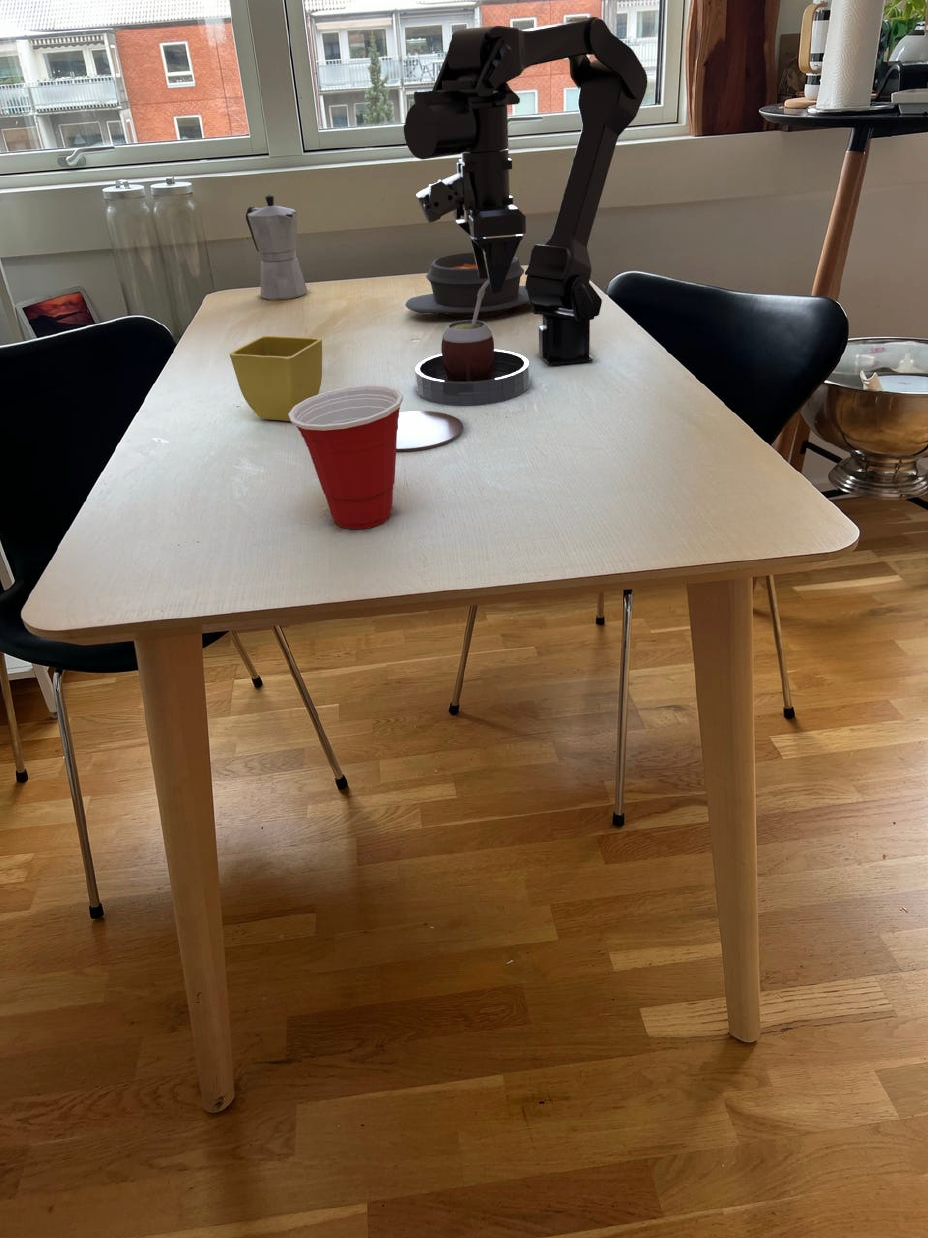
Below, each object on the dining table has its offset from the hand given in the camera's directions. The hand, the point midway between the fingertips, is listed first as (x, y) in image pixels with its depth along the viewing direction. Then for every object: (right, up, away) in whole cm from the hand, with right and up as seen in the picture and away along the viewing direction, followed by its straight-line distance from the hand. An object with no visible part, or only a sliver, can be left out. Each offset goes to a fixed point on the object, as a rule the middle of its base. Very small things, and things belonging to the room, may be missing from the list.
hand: (489, 285), depth 120 cm
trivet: (-10, -20, -7) cm, 24 cm away
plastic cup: (-14, -33, -27) cm, 45 cm away
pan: (-2, -11, +7) cm, 13 cm away
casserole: (-1, +11, +44) cm, 45 cm away
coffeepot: (-40, +21, +65) cm, 79 cm away
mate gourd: (-2, -11, +7) cm, 13 cm away
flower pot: (-26, -17, +1) cm, 31 cm away
